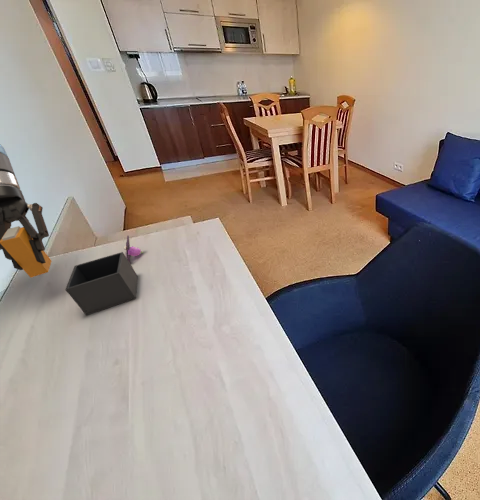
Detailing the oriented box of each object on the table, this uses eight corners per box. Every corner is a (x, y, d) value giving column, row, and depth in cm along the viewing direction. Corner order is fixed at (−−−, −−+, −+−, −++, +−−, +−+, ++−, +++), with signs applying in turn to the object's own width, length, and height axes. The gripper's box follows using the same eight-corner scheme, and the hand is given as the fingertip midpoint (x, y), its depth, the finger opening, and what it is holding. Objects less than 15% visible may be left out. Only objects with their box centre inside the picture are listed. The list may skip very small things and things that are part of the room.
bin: (86, 315, 84) (65, 289, 78) (93, 290, 93) (74, 265, 87) (135, 298, 88) (119, 272, 83) (137, 276, 97) (122, 251, 92)
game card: (124, 235, 106) (123, 247, 100) (142, 235, 109) (142, 246, 102) (126, 252, 109) (125, 264, 102) (143, 251, 112) (143, 263, 105)
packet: (30, 277, 85) (-3, 240, 77) (35, 266, 90) (4, 229, 82) (48, 272, 86) (17, 234, 79) (51, 260, 91) (23, 224, 84)
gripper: (47, 189, 93) (74, 257, 90) (-30, 206, 85) (-2, 280, 83) (32, 177, 86) (62, 250, 83) (-52, 194, 78) (-22, 275, 76)
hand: (30, 265), depth 83 cm, fingers closed on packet, 4 cm apart
